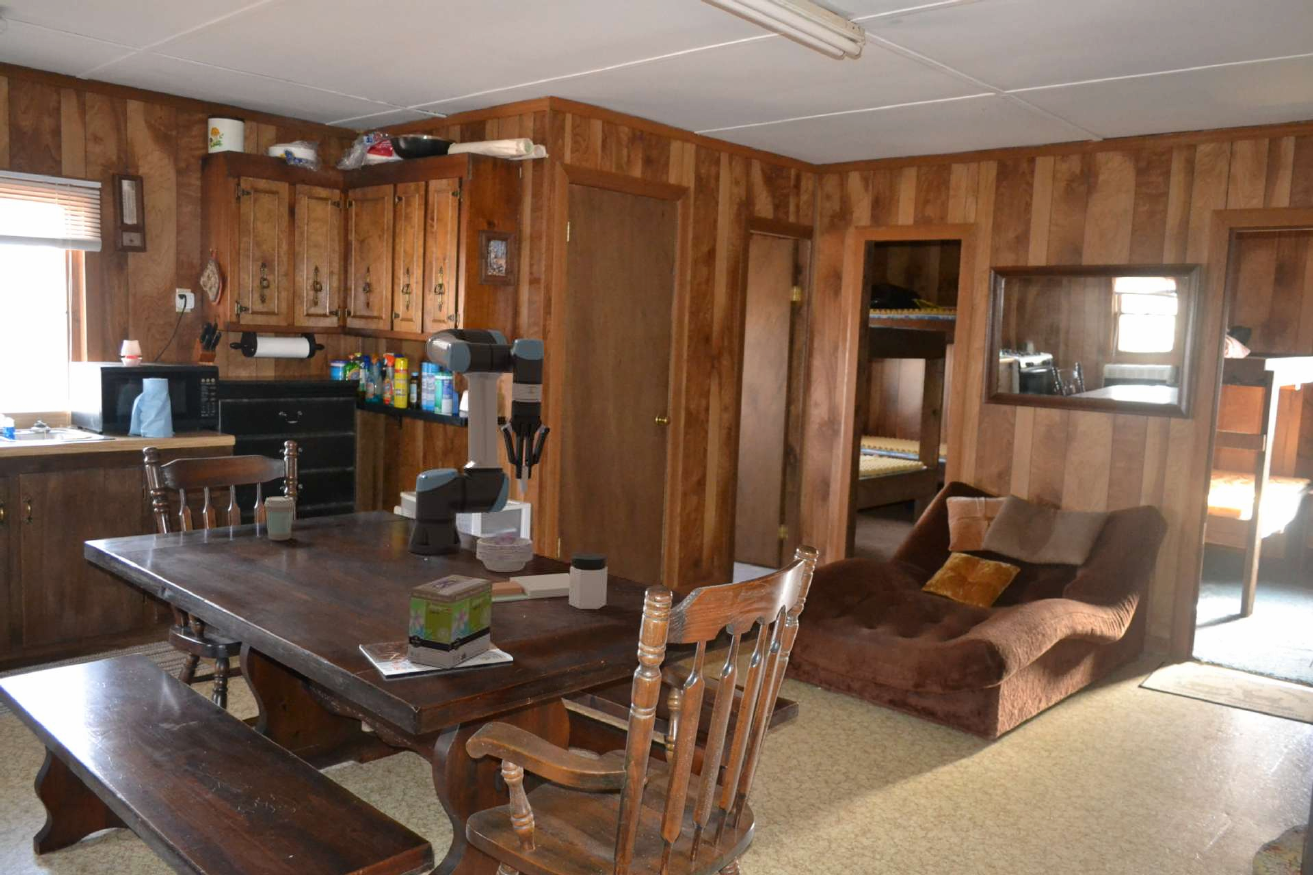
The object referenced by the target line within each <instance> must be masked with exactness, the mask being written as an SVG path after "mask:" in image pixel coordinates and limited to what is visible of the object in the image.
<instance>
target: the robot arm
mask: <svg viewBox="0 0 1313 875" xmlns="http://www.w3.org/2000/svg"><path fill="white" fill-rule="evenodd" d="M544 344H545V343H544V342H543V340H541V339H532V338H531V339H530V338H516V339H515V340H514V343H509V344H508V342H507V340H506V337H505V336H504V334H503V333H502V332H500V331H498V330H491V329H474V328H469V329H468V328H446V329H441V330H438V331H435V332H434V333H432V334H431V335H430V336H429V337H427V339H426V342H425V344H424V345H425V346H424V352H425V356H426V357H427V359H428V360H429V362H431V363H433V364H434V365H436V366H440V367H443V368H446V369H447V370H448V371H449V372H456V373H462V376H463V377H464V378H465V379H466V380H467V417H468V418H467V420H468V421H467V423H468V424H467V427H468V428H467V430H468V431H467V432H468V433H467V439H468V440H467V444H468V448H467V449H468V450H467V452H468V454H467V456H468V457H467V458H468V459H467V460H468V461H467V462H466V464H465V465H464V466H463V467H462V469H463V470H462V473H459V472H458V469H457V468H451V467H450V468H436V469H435V468H434V469H431V470H425V471H422V472H421V473H419V474H418V475H417V476H416V481H415V482H416V483H415V518H414V521H415V522H414V525H413V528H412V531H411V534H410V537H409V539H408V546H407V548H408V551H409V552H411V553H414V554H420V555H427V556H429V555H430V556H431V555H432V556H433V555H434V556H435V555H437V556H440V555H451V554H456V553H458V552H461V551H462V539H461V537H460V533H459V529H458V526H457V515H458V514H490V513H500V512H501V511H503V510H504V509H505V507H506V505H507V503H508V499H509V495H510V486H511V485H510V484H511V483H510V476H509V474H508V473H506V472H504V466H503V465H502V464H500V463H499V460H498V459H499V458H498V457H499V456H498V453H499V452H498V449H499V448H498V447H499V446H498V445H499V444H498V438H499V436H498V435H499V434H498V425H499V424H498V380H500V378H502V376H503V374H512V386H511V387H512V388H511V398H512V399H513V400H512V401H511V407H510V408H511V410H510V419H509V421H508V423H507V424H506V425H505V426H504V425H503V426H500V431H501V433H502V435H503V438H504V444H505V449H506V454H507V460H508V463H509V464H511V465H513V466H515V474H514V476H515V477H514V478H515V479H516V480H518V481H517V482H518V484H517V491H518V492H520V493H528V482H529V480H531V479H532V468H533V467H534V465H538V464H539V463H540V461H541V457H542V453H543V449H544V446H545V442H546V439H547V436H548V434H550V431H551V428H550V427H548V426H546V425H544V424H543V421H542V419H541V416H542V402H541V401H540V400H542V398H543V397H542V395H543V376H544V372H543V371H544V359H545V358H544V357H545V350H544V349H545V346H544ZM512 431H513V432H514V434H515V440H516V442H515V449H514V442H513V438H512V437H513V436H512V434H511V433H512ZM537 432H538V436H537V437H536V438H537V439H536V443H535V446H534V441H535V435H536V433H537ZM524 447H525V448H524ZM524 449H525V451H524ZM524 452H525V453H524Z"/></svg>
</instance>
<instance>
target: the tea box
mask: <svg viewBox="0 0 1313 875" xmlns="http://www.w3.org/2000/svg"><path fill="white" fill-rule="evenodd" d="M492 584H493V581H492V580H491V579H490V580H489V579H484V578H476V577H471V576H466V575H465V576H464V575H458V574H450V575H448V576H444V577H442V578H439V579H436V580H433V581H430V582H427V583H424V584H420V585H418V586H415V587H411V590H410V608H409V623H408V624H409V628H408V644H407V645H408V646H407V661H409V662H412V663H416V664H420V665H425V666H431V667H434V668H440V669H448V670H449V669H451V668H452V667H455V666H457V665H459V664H460V663H462V662H465V661H467V660H468V659H471V658H474V657H476V656H478V655H480V654H482V653H484V651H485V650H487V649H488V650H490V645H491V644H490V642H491V627H492V626H491V625H492V623H491V622H492V608H493V607H492V606H493V603H492V588H493V585H492ZM488 650H487V651H488ZM485 652H486V651H485ZM477 654H478V655H477Z"/></svg>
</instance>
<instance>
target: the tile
mask: <svg viewBox="0 0 1313 875" xmlns="http://www.w3.org/2000/svg"><path fill="white" fill-rule="evenodd" d="M492 585H493V588H492V596H495V595H507V594H519V593H523V587H522V586H520V585H519V584H517V583H516V582H510V581H503V582H494V583H493V584H492Z"/></svg>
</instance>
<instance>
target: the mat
mask: <svg viewBox="0 0 1313 875" xmlns="http://www.w3.org/2000/svg"><path fill="white" fill-rule="evenodd" d="M526 600H531V599H530V598H529V597H528V596H526V595H525V594H523V593H519V594H507V595H495V596H492V604H493V603H503V602H505V603H506V602H513V601H515V602H516V601H526Z"/></svg>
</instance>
